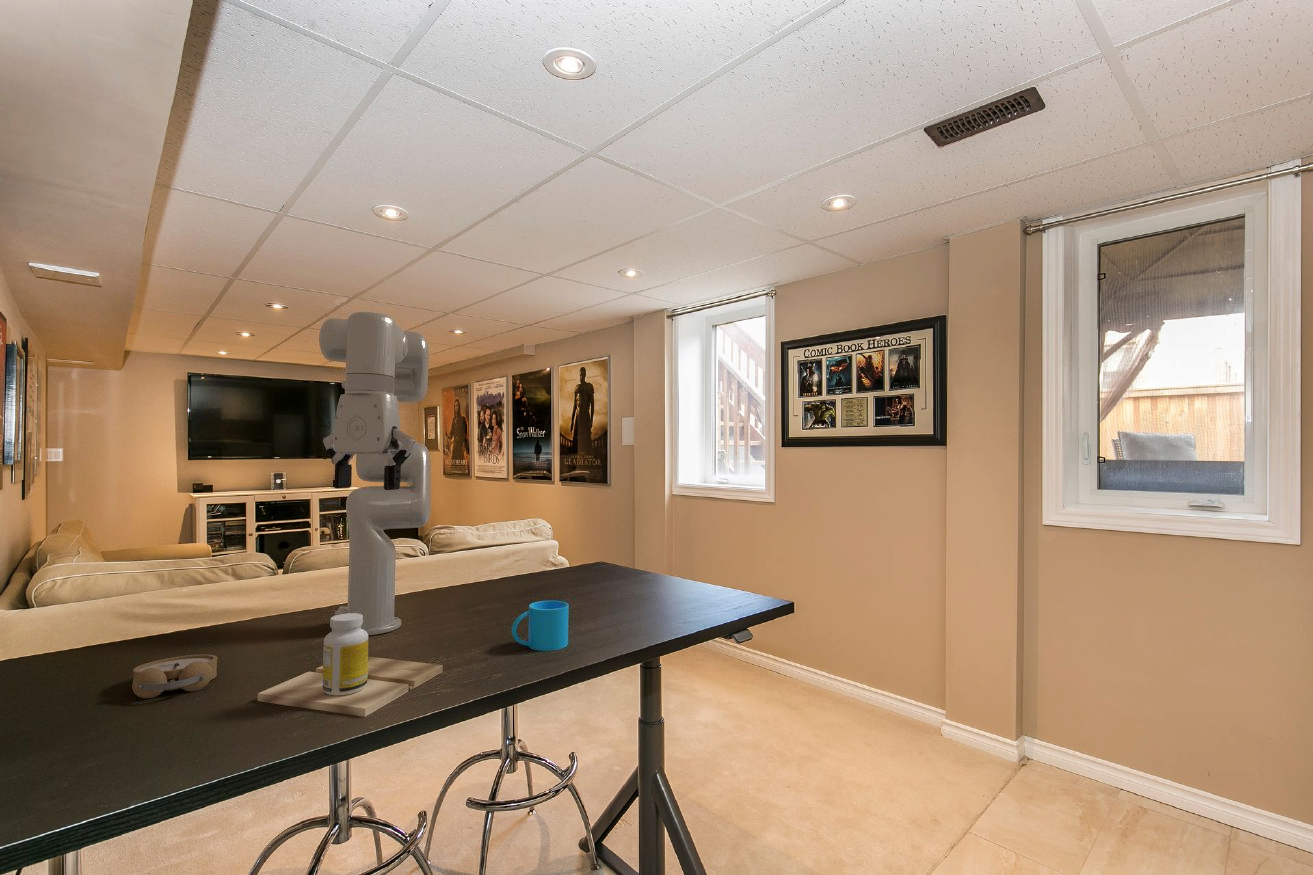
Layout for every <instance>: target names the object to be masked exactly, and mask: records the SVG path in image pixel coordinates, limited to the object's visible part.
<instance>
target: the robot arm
mask: <svg viewBox="0 0 1313 875" xmlns="http://www.w3.org/2000/svg"><path fill="white" fill-rule="evenodd" d="M319 330H320V331H319V335H318V345H319V349H320V351H321V354H322V356H323V357H324V359H325V360H326V361H329V362H337V363H345V380H343V381H342V382H341V387H342V389H344V394H340V397H339V399H338V403H337V407H336V412H335V418H334V419H335V420H334V427H333V433H331V434H329V435H327V436H326V437H324V438H323V440H322V443H323V444H324V447H325V450H326V454H327V456H328V457H329V458H330V460H331V464H332V465H334V480H333V481H334V484H333V485H334V486H333V487H334V488H335V489H350V488H351V487H352V474H353V471H352V470H353V467H352V464H350V463H351V461H352V459H353V458H354V456H355V471H356V475H357V477H358V478H359V480H361V481H363V482H368V483H369V482H370V483H371V482H372V483H383V485H379V486H378V485H375V486H374V485H371V486H362V487H358V488H355V489H354V490H352V491H350V492H349V494H348V496H347V498H346V502H345V512H346V518H347V525H348V526H347V527H348V539H349V540H348V541H349V542H348V545H349V546H348V548H349V550H348V553H349V554H348V578H347V579H348V584H347V606H339V607H338V608H337V610H336V611H334V615H333V616H336V615H340V614H347V613H358V614H361V615H362V616H363V623H362V625H361V629H363V630H365V631H366V632H367V633H368V636H375V635H381V634H385V633H389V632H392V631H395V630H397V629H399V628H400V627H401V626H402V619H400V618H399V617H397V616H395V601H396V600H395V596H396V595H395V592H396V565H397V564H396V562H397V561H396V560H397V559H396V558H397V555H396V554H397V553H396V552H397V550H396V549H397V548H396V546H395V544H394V542H393V540H392V539H391V538H390V537H389V535H388V534H386V533H385V532H384V530H390V529H391V530H392V529H413V528H414V529H415V528H422V527H424V526H426V525H427V523H428V522H429V520H430V518H431V517H430V516H431V507H432V505H431V502H432V500H431V496H432V495H431V491H432V490H431V484H432V483H431V476H432V475H431V474H432V472H431V466H432V465H431V455H430V451H429V449H428V447H427V446H426V445H425V444H423V443H421V442H416V440H415V438H413V437H411V436H409V435H408V434H406V433H405V432H403V431H401V418H400V417H401V415H400V408H399V403H410V404H412V403H420V402H422V401H423V400H424V399H425V398H426V395H427V392H428V385H429V384H428V382H429V381H428V380H429V367H430V350H429V349H430V348H429V344H428V341H427V339H426V338H425V336H424V335H423V334H422V333H421V332H418V331H407V330H403V329H402V328H401V327H400V326H399V325H398V324H396V322H395V320H394V319H393V317H391V316H389V315H387V314H384V313H380V312H374V311H358V312H354V313H351V314H349V316H348V318H347V319H346V318H335V317H334V318H333V317H332V318H328V319H326V320H325V321H324V322H323V323H322V325H321V326H320V329H319ZM401 483H406V484H408V485H406V486H402V485H401Z"/></svg>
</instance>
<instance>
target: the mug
mask: <svg viewBox="0 0 1313 875" xmlns="http://www.w3.org/2000/svg"><path fill="white" fill-rule="evenodd" d="M569 607H570V606H569V603H567V602H565V601H562V600H561V601H560V600H541V601H535V602H531V603H530V604H529V606H528V610H527V611H525V612H523V613H521V614H520V615H519V616H518V617H516V619H515V620H514V622H513V623H512V626H511V636H512V638H513V639H514V641H516V642H517V643H519V644H520V645H523V646H525V647H526V646H528V648H530V649H531V650H535V651H539V652H544V651H545V652H549V651H550V652H551V651H557V650H562V649H564V648H566V647H567V646H568V645H569ZM527 617H528V633H527V634H528V639H527V640H528V641H527V640H523V639H521V637H519V635H518V633H517V628H518V626H519V623H520V622H521V621H522V620H523V619H524V618H527Z"/></svg>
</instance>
